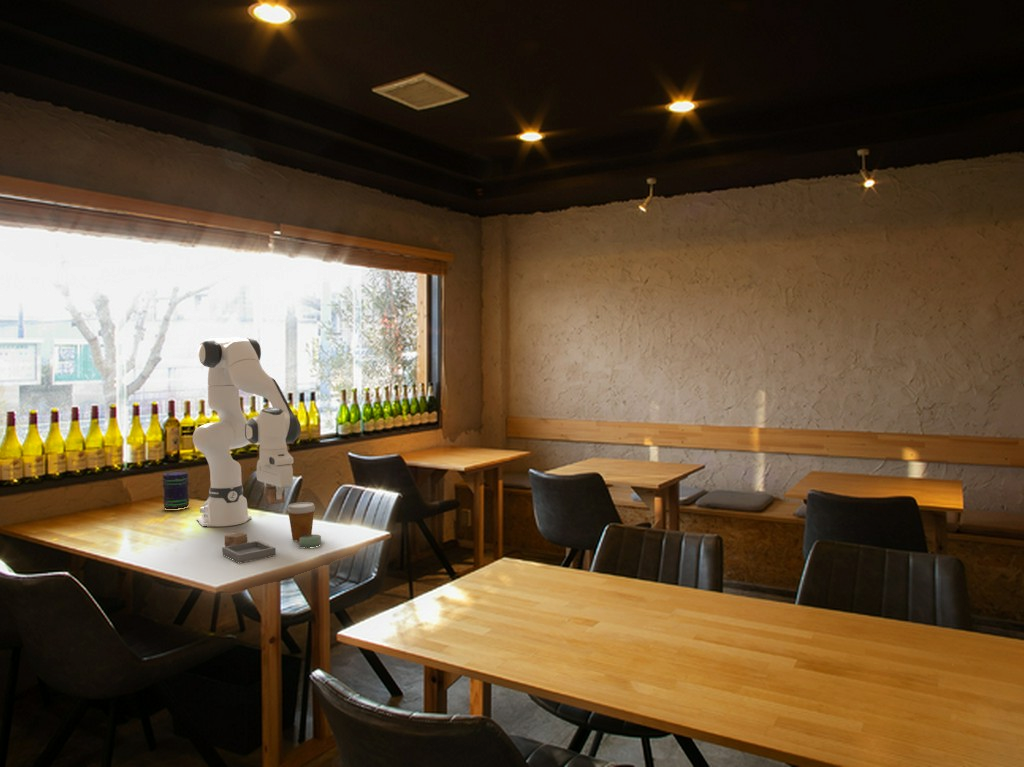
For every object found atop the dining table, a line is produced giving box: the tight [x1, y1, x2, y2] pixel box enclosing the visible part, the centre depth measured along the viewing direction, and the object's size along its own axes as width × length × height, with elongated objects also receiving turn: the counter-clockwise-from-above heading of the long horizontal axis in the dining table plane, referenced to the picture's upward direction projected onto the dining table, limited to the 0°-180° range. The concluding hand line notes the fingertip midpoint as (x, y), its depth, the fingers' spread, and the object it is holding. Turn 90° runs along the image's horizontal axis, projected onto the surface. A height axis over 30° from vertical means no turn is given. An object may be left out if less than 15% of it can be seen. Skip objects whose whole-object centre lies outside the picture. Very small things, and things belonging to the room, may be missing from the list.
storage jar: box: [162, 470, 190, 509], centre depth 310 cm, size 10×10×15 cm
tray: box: [221, 540, 277, 564], centre depth 239 cm, size 13×12×2 cm
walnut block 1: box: [224, 531, 248, 547], centre depth 246 cm, size 5×5×5 cm
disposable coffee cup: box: [286, 501, 316, 542], centre depth 258 cm, size 10×10×12 cm
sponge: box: [299, 534, 322, 549], centre depth 250 cm, size 7×7×3 cm
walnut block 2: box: [263, 485, 286, 506], centre depth 248 cm, size 5×5×5 cm
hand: (274, 497), depth 248 cm, fingers closed on walnut block 2, 5 cm apart
